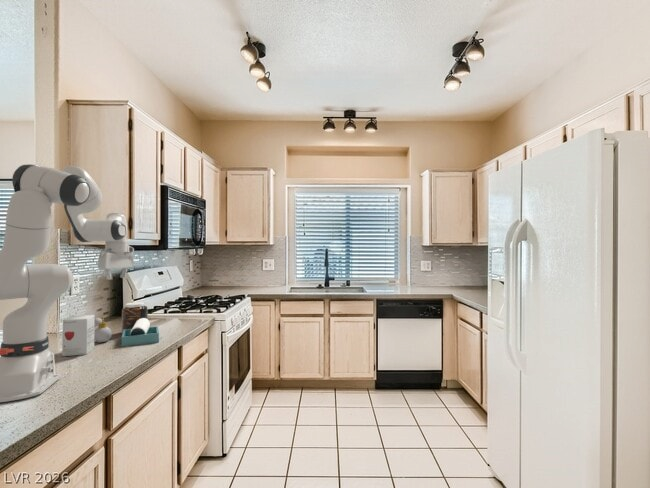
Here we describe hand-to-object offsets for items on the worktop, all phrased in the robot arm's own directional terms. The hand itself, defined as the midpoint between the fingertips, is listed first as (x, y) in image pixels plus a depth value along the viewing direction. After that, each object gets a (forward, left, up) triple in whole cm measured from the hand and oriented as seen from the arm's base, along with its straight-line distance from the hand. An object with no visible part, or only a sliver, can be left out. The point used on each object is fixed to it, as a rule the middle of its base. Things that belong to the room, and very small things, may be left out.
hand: (116, 278), depth 161 cm
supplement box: (-10, +13, -30) cm, 34 cm away
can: (-6, -9, -25) cm, 28 cm away
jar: (+17, -7, -30) cm, 35 cm away
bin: (-1, -10, -30) cm, 31 cm away
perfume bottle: (+3, +6, -30) cm, 31 cm away
